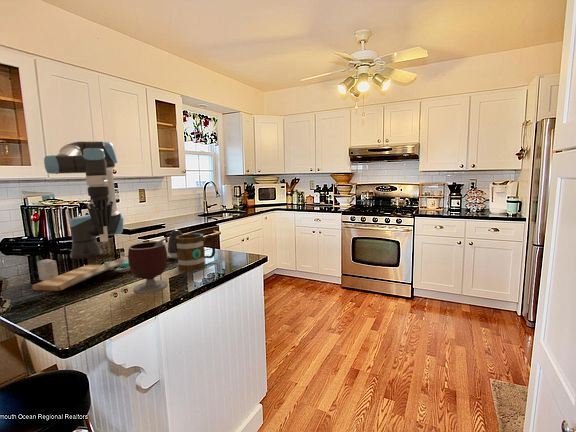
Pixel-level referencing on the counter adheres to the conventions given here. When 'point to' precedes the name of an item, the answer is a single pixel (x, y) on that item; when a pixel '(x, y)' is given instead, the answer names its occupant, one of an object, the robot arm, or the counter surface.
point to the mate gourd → (148, 264)
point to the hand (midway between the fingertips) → (104, 241)
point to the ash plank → (93, 272)
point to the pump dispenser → (173, 243)
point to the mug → (192, 251)
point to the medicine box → (47, 269)
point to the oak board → (62, 278)
